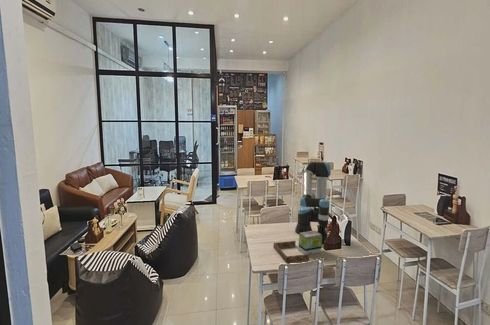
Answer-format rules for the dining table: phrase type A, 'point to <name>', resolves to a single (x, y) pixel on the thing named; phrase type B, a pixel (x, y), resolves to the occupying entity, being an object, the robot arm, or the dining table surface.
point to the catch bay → (289, 258)
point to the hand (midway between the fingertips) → (321, 247)
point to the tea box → (310, 242)
